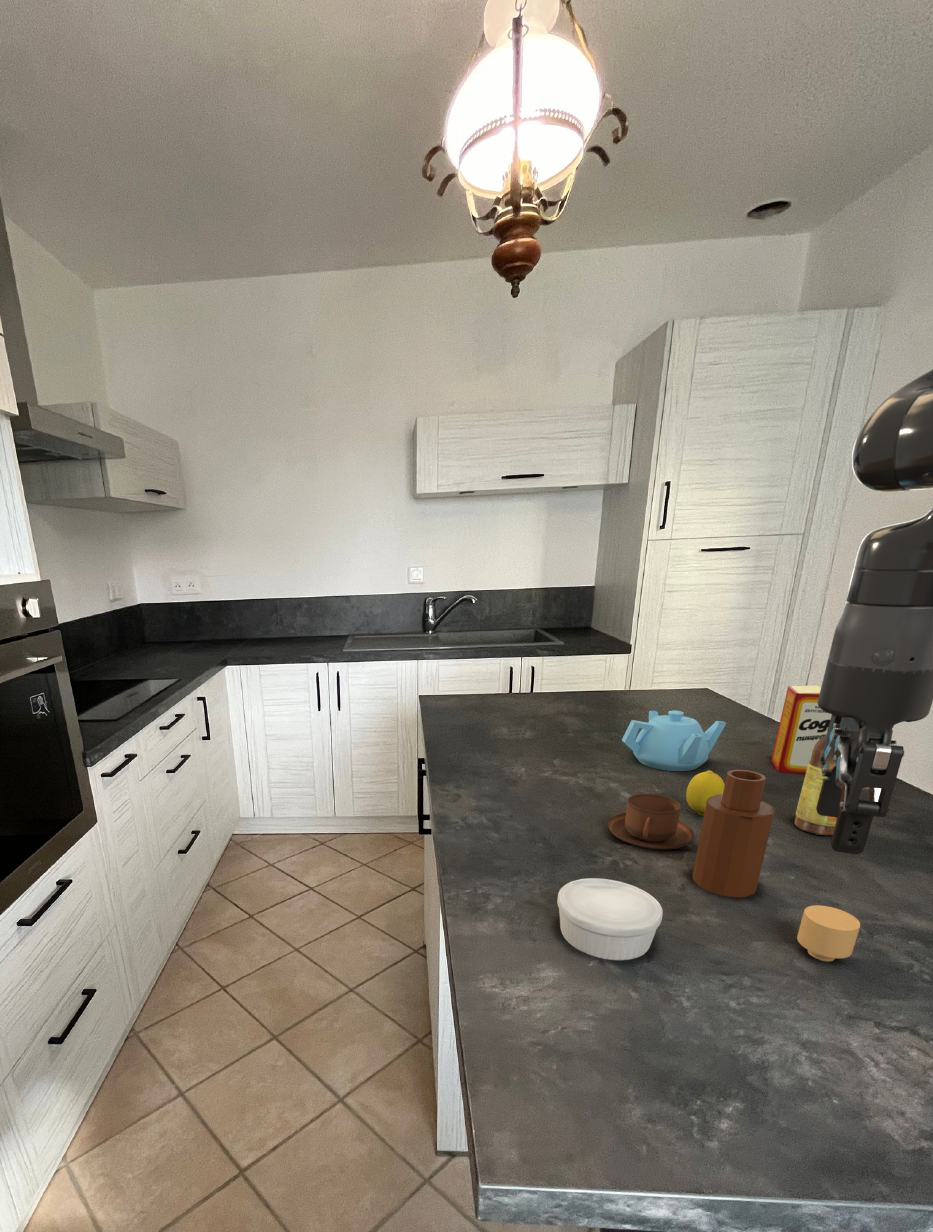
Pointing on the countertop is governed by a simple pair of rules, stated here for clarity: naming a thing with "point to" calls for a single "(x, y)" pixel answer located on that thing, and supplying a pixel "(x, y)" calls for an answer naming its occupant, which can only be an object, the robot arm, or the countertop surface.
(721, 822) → the brown bottle
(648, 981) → the countertop surface
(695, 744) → the teapot
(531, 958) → the countertop surface
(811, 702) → the baking soda box
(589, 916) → the ramekin
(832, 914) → the bung
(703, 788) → the lemon
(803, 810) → the sauce bottle
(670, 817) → the cup and saucer
